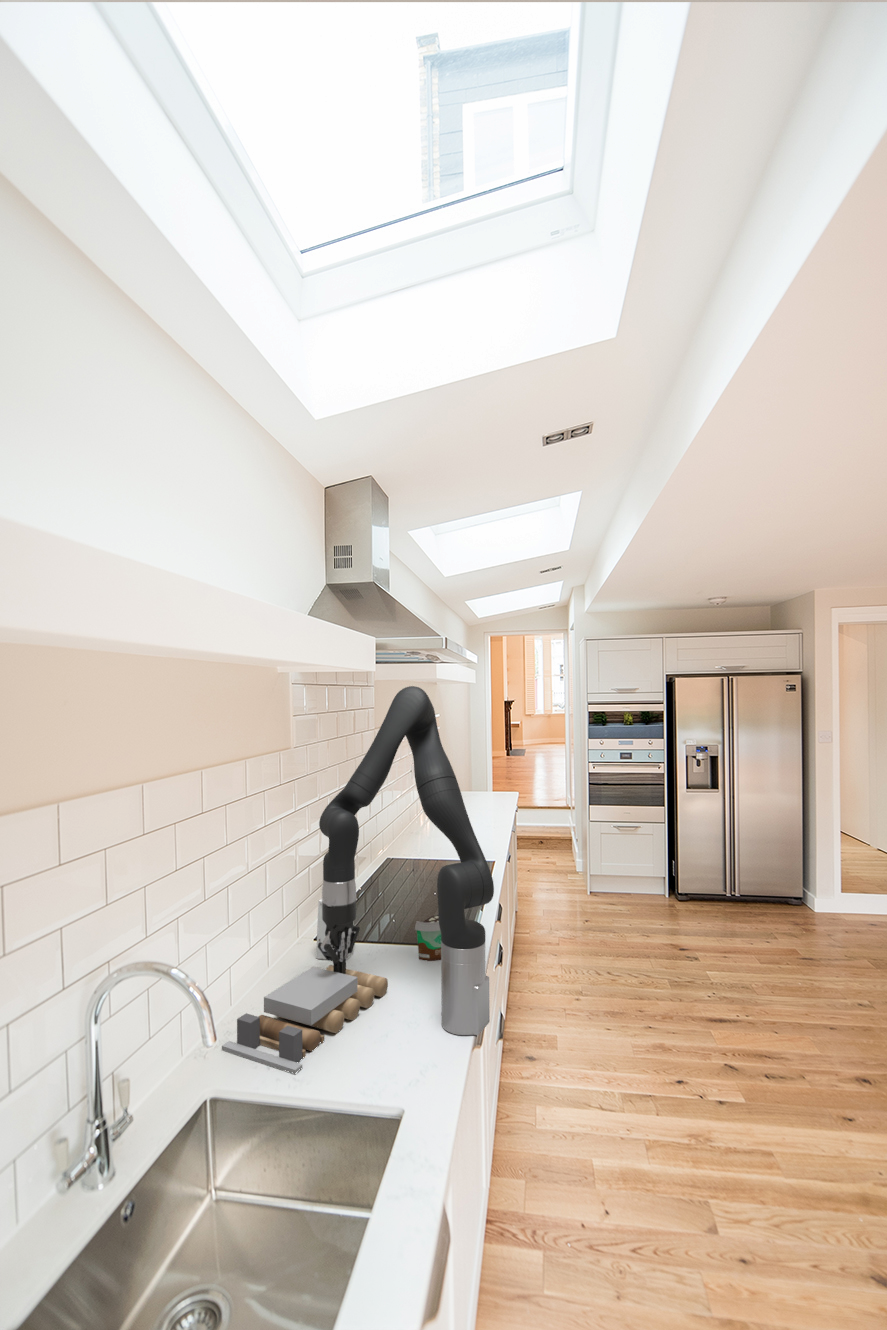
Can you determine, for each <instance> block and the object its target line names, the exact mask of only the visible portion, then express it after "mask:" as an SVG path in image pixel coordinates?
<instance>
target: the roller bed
mask: <svg viewBox="0 0 887 1330" xmlns="http://www.w3.org/2000/svg"><path fill="white" fill-rule="evenodd" d="M325 970H330V971H333V965H332V964H330V965H328V966H327V967H326V969H325ZM346 975H351V976H355V977H358V991H357V992H356V993H354V994H353V995H352V996H350V997H349V998H348V999H346V1000H345V1001H344V1002H342V1003H341V1004H340V1005H338V1006H337V1007H336V1008H334V1009H333V1010H332V1011H330V1012H329V1013H328V1014H326V1015H325V1016H324V1017H322V1018H321V1019H320V1020H318V1021H317V1022H315V1023H314V1024H313V1025H307V1024H304V1023H300V1022H297V1021H293V1020H290V1019H286V1018H283V1017H279V1016H277V1017H278V1018H282V1019H285V1020H289V1021H292V1022H296V1023H298V1024H301V1025H305V1026H309V1027H313V1028H316V1029H319V1030H323V1031H326V1032H329V1033H334V1034H338V1033H339V1032H340V1031H342V1028H343V1026H344V1024H345V1019H346V1020H350V1021H355V1020H356V1019H357V1017H358V1015H359V1013H360V1009H361V1008H365V1009H369V1008H371V1006H372V1005H373V1003H374V1000H375V996H376V997H380V998H382V997H384V996H385V995H386V993H387V990H388V987H389V980H388V979H387V977H384V976H379V975H375V974H371V973H366V972H363V971H357V970H354V969H350V968H346ZM339 1030H340V1031H339ZM338 1031H339V1032H338ZM337 1032H338V1033H337ZM320 1035H321V1038H320V1042H321V1043H320V1044H323V1043H324V1042H325V1035H324V1034H321V1033H320ZM323 1041H324V1042H323ZM260 1046H262V1047H266V1048H269V1049H273V1050H274V1051H275V1050H276V1051H277V1052H279V1041H276V1040H273V1039H270V1038H267V1037H263V1036H260ZM305 1056H307V1050H305V1049H302V1059H304V1058H306V1057H305ZM303 1057H304V1058H303Z"/></svg>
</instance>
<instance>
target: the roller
mask: <svg viewBox="0 0 887 1330" xmlns="http://www.w3.org/2000/svg"><path fill="white" fill-rule="evenodd" d="M257 1017H260V1036H262V1037H265V1038H269V1039H272V1040H275V1041H278V1042H279V1031H281V1030H282V1029H284V1028H285V1027H286V1026H291V1027H295V1028H298V1029H302V1049H304V1050H306V1051H309V1052H313V1051H315V1050H316V1049H317V1048H318V1047H319V1046H320V1044H321V1043H320V1038H321V1035H322V1034H321V1032H320V1031H319V1030H316V1029H314V1028H309V1027H306V1026H303V1025H299V1024H295V1023H292V1022H289V1021H285V1020H281V1019H279V1018H275V1017H272V1016H267V1015H264V1014H260V1015H257ZM320 1034H321V1035H320ZM317 1046H318V1047H317ZM316 1047H317V1048H316ZM315 1048H316V1049H315ZM314 1049H315V1050H314ZM312 1050H313V1051H312Z"/></svg>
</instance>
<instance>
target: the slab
mask: <svg viewBox="0 0 887 1330" xmlns="http://www.w3.org/2000/svg"><path fill="white" fill-rule="evenodd" d="M357 991H358V977H355V976H351V975H346V974H342V973H338V972H334V971H330V970H326V969H324V968H321V967H316V966H312V967H310V968H308V969H307V970H305V971H304V972H302V973H300V974H299V975H297V976H295V977H294V978H292V979H291V980H289V981H287V982H286V983H284V984H283V985H281V986H280V987H278V988H276V989H275V990H273V991H271V992H270V993H268V994H266V995H264V996H263V1012H264V1013H266V1014H268V1015H269V1014H270V1015H273V1016H276V1017H278V1016H279V1017H278V1018H281V1017H283V1018H282V1019H285V1018H286V1019H285V1020H288V1019H290V1020H289V1021H291V1020H293V1021H292V1022H295V1021H297V1022H296V1023H298V1022H300V1023H299V1024H302V1023H304V1024H303V1025H305V1024H307V1025H306V1026H309V1025H313V1024H314V1023H315V1022H317V1021H318V1020H320V1019H321V1018H322V1017H324V1016H325V1015H326V1014H328V1013H329V1012H330V1011H332V1010H333V1009H334V1008H336V1007H337V1006H338V1005H340V1004H341V1003H342V1002H344V1001H345V1000H346V999H348V998H349V997H350V996H352V995H353V994H354V993H356V992H357Z"/></svg>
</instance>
